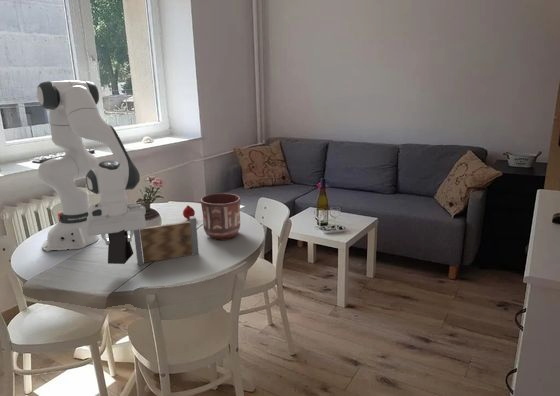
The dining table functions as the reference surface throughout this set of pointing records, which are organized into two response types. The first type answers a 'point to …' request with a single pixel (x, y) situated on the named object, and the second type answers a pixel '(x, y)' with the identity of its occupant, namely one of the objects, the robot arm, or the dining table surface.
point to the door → (166, 241)
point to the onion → (188, 212)
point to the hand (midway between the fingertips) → (118, 242)
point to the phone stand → (119, 248)
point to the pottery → (221, 215)
